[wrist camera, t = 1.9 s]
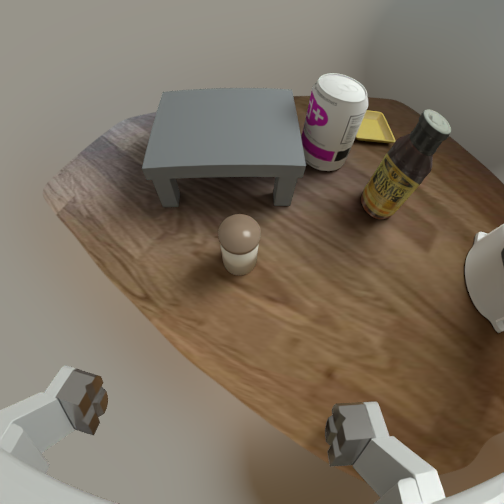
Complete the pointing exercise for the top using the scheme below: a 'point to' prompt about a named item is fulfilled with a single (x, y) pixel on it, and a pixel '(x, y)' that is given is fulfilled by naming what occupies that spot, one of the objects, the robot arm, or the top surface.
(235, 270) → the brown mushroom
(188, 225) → the top surface
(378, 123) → the yellow shallow tray
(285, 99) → the footstool
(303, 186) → the top surface
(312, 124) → the supplement can
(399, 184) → the sauce bottle
